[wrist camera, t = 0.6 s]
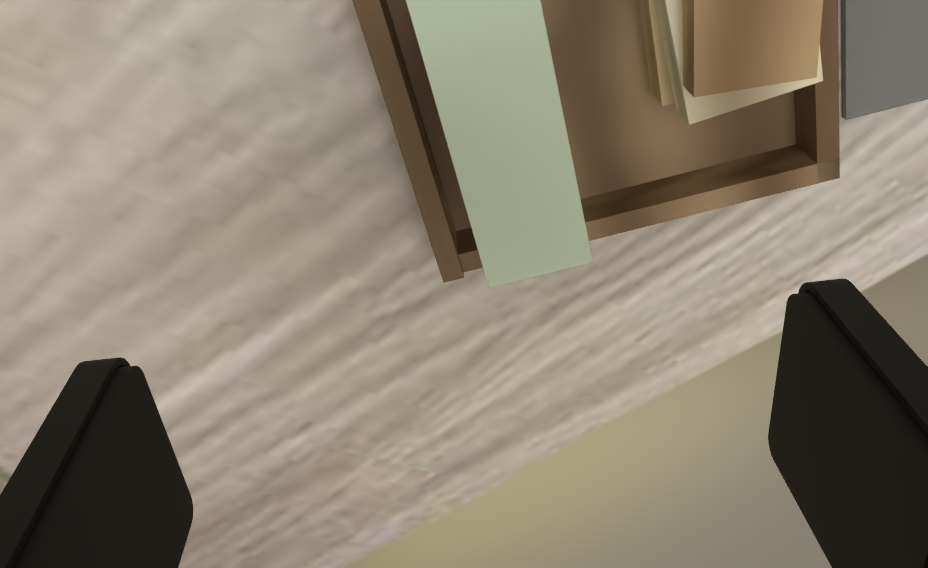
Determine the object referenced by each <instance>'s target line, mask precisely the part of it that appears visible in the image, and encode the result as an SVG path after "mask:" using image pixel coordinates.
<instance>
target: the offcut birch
mask: <svg viewBox="0 0 928 568" xmlns="http://www.w3.org/2000/svg"><path fill="white" fill-rule="evenodd" d="M654 2H655V7H656V12H657V17H658V22H659V27H660V32H661V37H662V42H663V46H664V51H665V56H666V61H667V66H668V71H669V76H670V81H671V86H672V91H673V96H674V101H675V106H676V109H677V111H678V112H679V113H680V114H681V115H682V117H683V118H684V119H685V120H686V121H687V123H688V124H689V125H690V124H693V123H696V122H699V121H702V120H705V119H708V118H712V117H715V116H718V115H721V114H724V113H727V112H730V111H733V110H736V109H739V108H742V107H745V106H748V105H751V104H754V103H757V102H760V101H763V100H766V99H769V98H772V97H775V96H778V95H782V94H785V93H788V92H791V91H794V90H797V89H800V88H803V87H806V86H809V85H812V84H815V83H818V82H821V81H823V74H822V63H821V53H820V44H819V56H818V68H817V78H811V79H805V80H799V81H792V82H786V83H780V84H774V85H768V86H762V87H756V88H749V89H743V90H737V91H731V92H725V93H719V94H712V95H706V96H700V97H693V96H692V95H691V94H690V93H689V92H688V90H687V89H686V88H685V87H684V86H683V0H654Z"/></svg>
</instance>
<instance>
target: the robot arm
mask: <svg viewBox="0 0 928 568" xmlns="http://www.w3.org/2000/svg"><path fill="white" fill-rule="evenodd" d="M768 440H769V447H770V451H771V455H772V457H773V460H774V462H775V463H776V465H777V467H778V469H779V471H780V473H781V474H782V476H783V478H784V480H785V482H786V484H787V486H788V487H789V489H790V491H791V493H792V495H793V497H794V498H795V500H796V502H797V504H798V506H799V508H800V509H801V511H802V513H803V515H804V517H805V519H806V520H807V522H808V524H809V526H810V528H811V530H812V532H813V533H814V535H815V537H816V539H817V541H818V543H819V544H820V546H821V548H822V550H823V551H824V554H825V555H826V557H827V559H828V561H829V563H830V565H831V566H832V568H928V366H926V365H925V364H924V363H923V361H921V359H920V358H919V357H918V356H917V355H916V354H915V353H914V351H913V350H912V349H911V348H909V346H908V345H907V344H906V343H905V341H904V340H903V339H902V338H901V337H900V336H899V335H898V334H897V333H896V331H895V330H894V329H893V328H892V327H891V326H890V325H889V324H888V323H887V321H886V320H885V319H884V318H883V317H882V316H881V315H880V314H879V313H878V312H877V311H876V309H875V308H874V307H873V306H872V305H871V304H870V303H869V302H868V300H866V298H865V297H864V296H863V295H862V294H861V293H860V292H859V290H858V289H857V288H856V287H855V286H854V285H853V284H852V283H851V282H850V281H849V280H847V279H834V280H825V281H816V282H807V283H804V284H803V285H802V286H801V287H800V289H799V293H798V294H792V295H790V296H789V298H788V301H787V305H786V312H785V319H784V327H783V334H782V341H781V348H780V356H779V362H778V369H777V376H776V383H775V390H774V398H773V405H772V412H771V420H770V426H769V434H768ZM192 519H193V503H192V498H191V495H190V492H189V490H188V487H187V485H186V482H185V479H184V477H183V474H182V472H181V469H180V466H179V464H178V461H177V459H176V456H175V453H174V451H173V448H172V446H171V443H170V440H169V438H168V435H167V433H166V430H165V428H164V425H163V422H162V420H161V417H160V415H159V412H158V409H157V407H156V404H155V402H154V399H153V396H152V394H151V391H150V389H149V386H148V383H147V381H146V378H145V376H144V373H143V371H142V370H141V369H140V367H138V366H130V365H129V363H128V362H127V361H126V360H125V359H124V358H111V359H102V360H93V361H84V362H81V363H79V364H78V365H77V367H76V368H75V369H74V371H73V373H72V375H71V376H70V378H69V380H68V381H67V383H66V385H65V386H64V388H63V390H62V392H61V393H60V395H59V397H58V398H57V400H56V402H55V403H54V405H53V407H52V408H51V410H50V412H49V414H48V415H47V417H46V419H45V420H44V422H43V424H42V425H41V427H40V429H39V431H38V432H37V434H36V436H35V437H34V439H33V441H32V442H31V444H30V446H29V447H28V449H27V451H26V453H25V454H24V456H23V458H22V459H21V461H20V463H19V464H18V466H17V468H16V469H15V471H14V473H13V475H12V476H11V478H10V480H9V481H8V483H7V485H6V486H5V488H4V490H3V492H2V493H1V495H0V568H178V566H179V563H180V560H181V556H182V553H183V550H184V547H185V543H186V540H187V537H188V533H189V530H190V527H191V523H192Z"/></svg>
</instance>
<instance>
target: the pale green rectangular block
mask: <svg viewBox="0 0 928 568" xmlns="http://www.w3.org/2000/svg"><path fill="white" fill-rule="evenodd" d="M406 2H407V6H408V9H409V12H410V16H411V19H412V23H413V26H414V30H415V33H416V37H417V40H418V44H419V47H420V51H421V54H422V58H423V61H424V65H425V68H426V71H427V75H428V78H429V82H430V85H431V89H432V92H433V96H434V99H435V103H436V106H437V110H438V113H439V117H440V120H441V124H442V127H443V130H444V134H445V137H446V141H447V144H448V148H449V151H450V155H451V158H452V162H453V165H454V169H455V172H456V176H457V179H458V183H459V186H460V189H461V193H462V196H463V200H464V203H465V207H466V210H467V214H468V217H469V221H470V224H471V228H472V231H473V235H474V238H475V241H476V245H477V248H478V252H479V255H480V259H481V262H482V266H483V269H484V273H485V276H486V280H487V283H488V287H489V288H493V287H497V286H501V285H505V284H509V283H513V282H517V281H521V280H525V279H529V278H533V277H537V276H541V275H545V274H549V273H553V272H557V271H561V270H565V269H569V268H573V267H577V266H581V265H585V264H589V263H593V259H592V255H591V250H590V245H589V240H588V235H587V230H586V225H585V220H584V215H583V210H582V205H581V200H580V195H579V190H578V185H577V180H576V175H575V170H574V165H573V160H572V155H571V150H570V145H569V140H568V135H567V130H566V125H565V120H564V116H563V111H562V106H561V101H560V96H559V91H558V86H557V81H556V76H555V71H554V66H553V61H552V56H551V51H550V46H549V41H548V36H547V31H546V26H545V21H544V16H543V11H542V6H541V1H540V0H406Z"/></svg>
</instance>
